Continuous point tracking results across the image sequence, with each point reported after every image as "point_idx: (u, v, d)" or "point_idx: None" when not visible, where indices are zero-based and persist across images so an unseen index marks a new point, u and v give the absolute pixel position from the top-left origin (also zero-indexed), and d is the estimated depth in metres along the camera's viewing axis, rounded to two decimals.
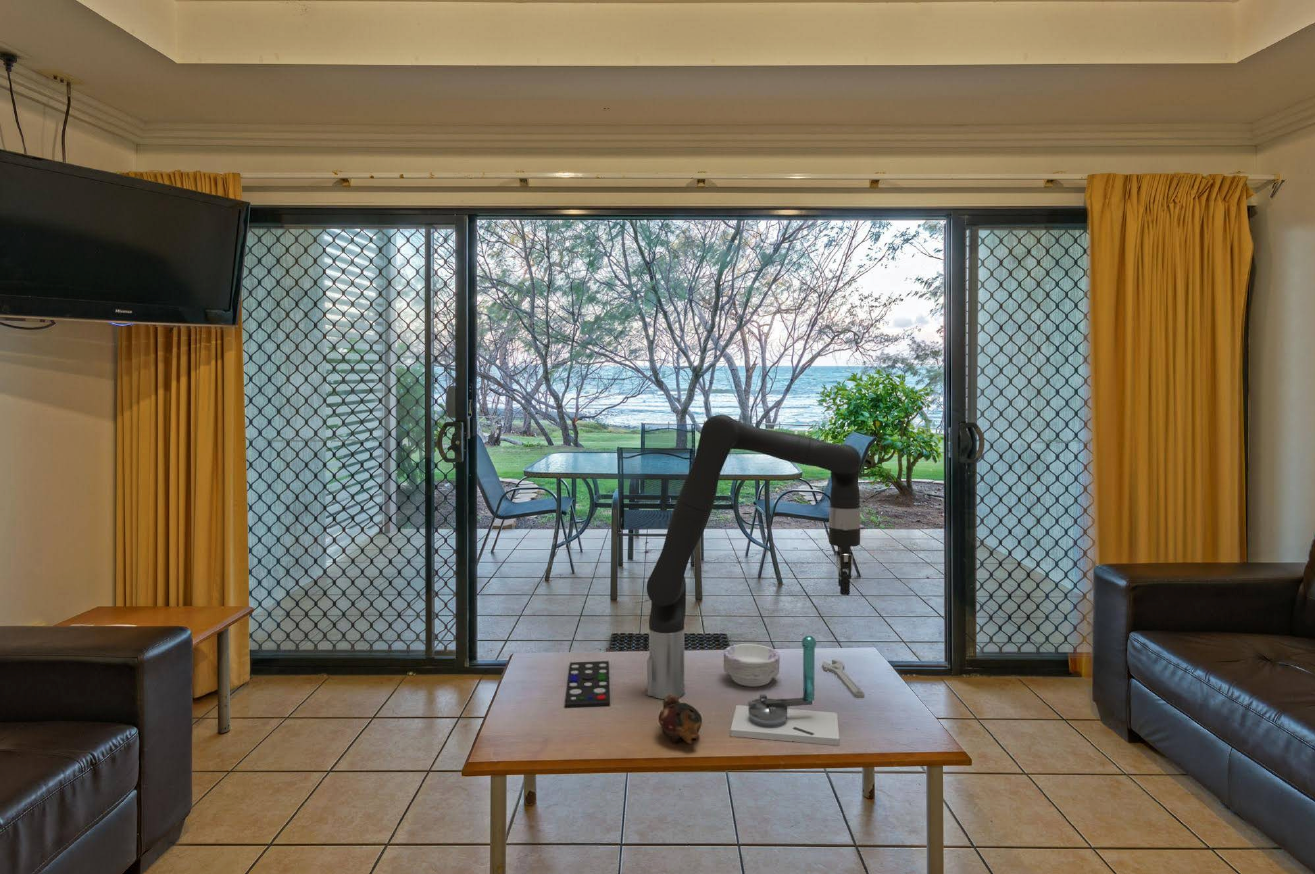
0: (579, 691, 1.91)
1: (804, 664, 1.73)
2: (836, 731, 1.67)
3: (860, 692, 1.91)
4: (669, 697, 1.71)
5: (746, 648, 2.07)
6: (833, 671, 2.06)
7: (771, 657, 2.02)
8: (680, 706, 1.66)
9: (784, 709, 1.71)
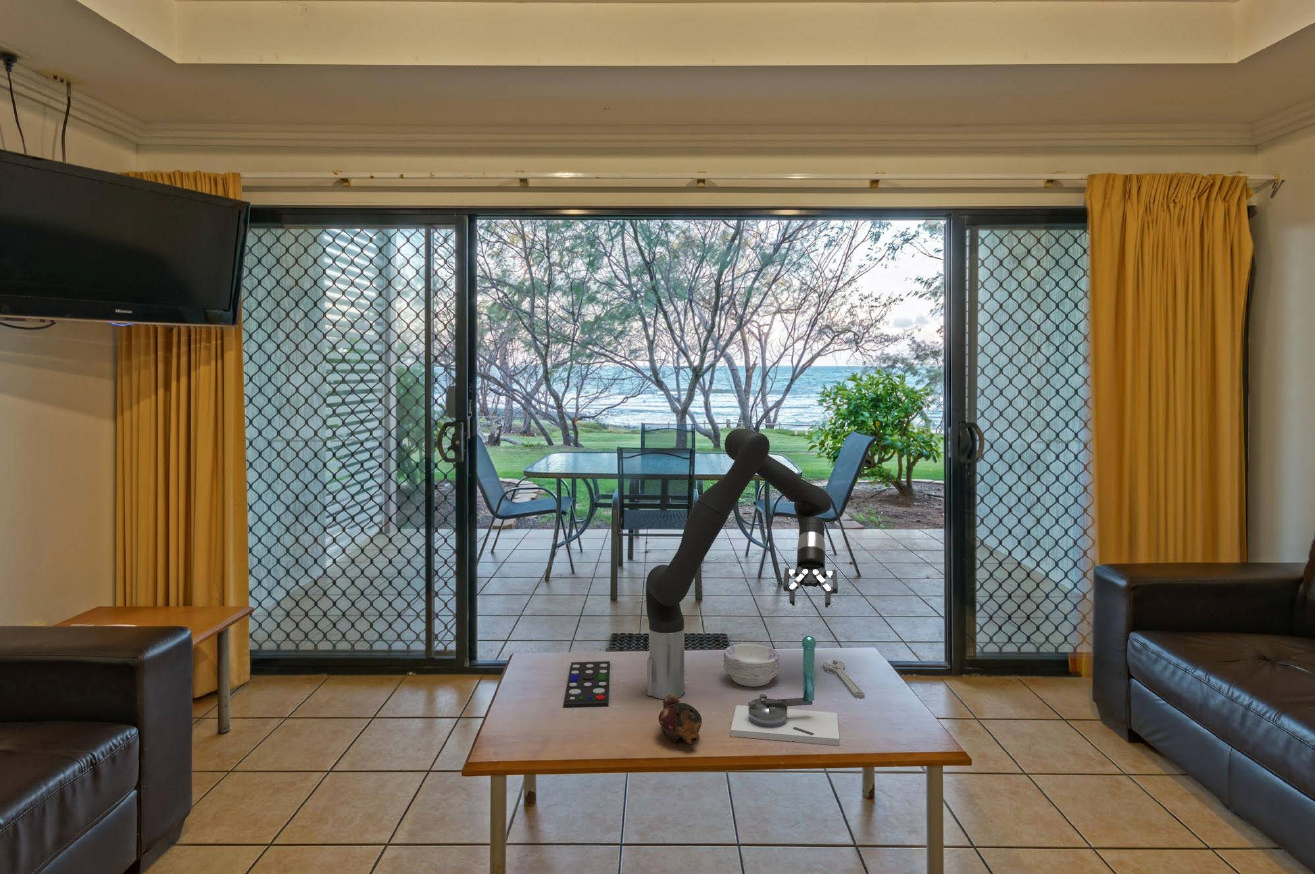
0: (578, 691, 1.91)
1: (804, 664, 1.73)
2: (836, 731, 1.67)
3: (860, 692, 1.91)
4: (669, 697, 1.71)
5: (746, 648, 2.07)
6: (834, 671, 2.06)
7: (771, 657, 2.02)
8: (680, 706, 1.66)
9: (784, 709, 1.71)
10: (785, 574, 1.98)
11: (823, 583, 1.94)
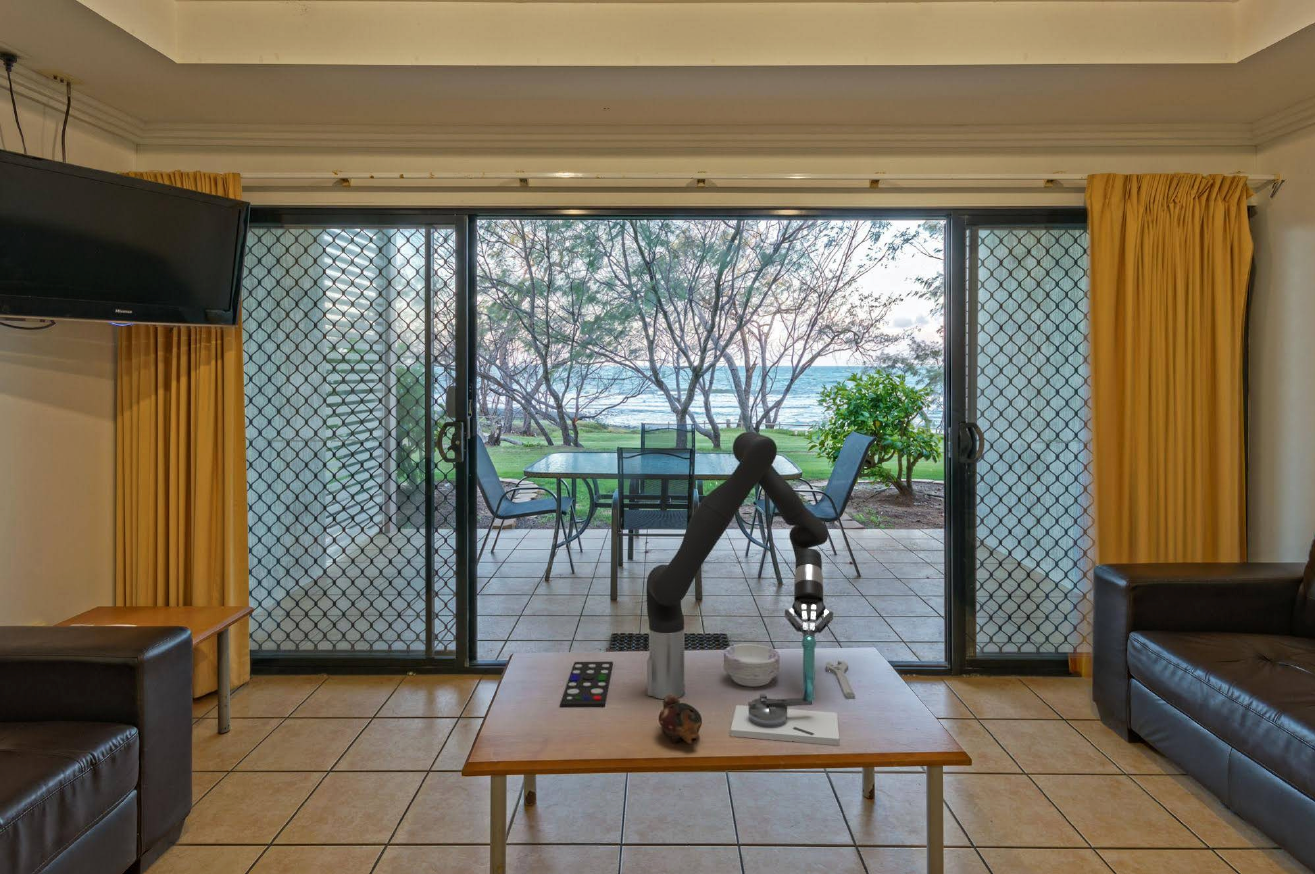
0: (576, 691, 1.92)
1: (804, 664, 1.73)
2: (836, 731, 1.67)
3: (851, 693, 1.90)
4: (669, 697, 1.71)
5: (746, 648, 2.07)
6: (834, 672, 2.06)
7: (771, 657, 2.02)
8: (680, 706, 1.66)
9: (784, 709, 1.71)
10: (790, 616, 1.90)
11: (811, 620, 1.88)
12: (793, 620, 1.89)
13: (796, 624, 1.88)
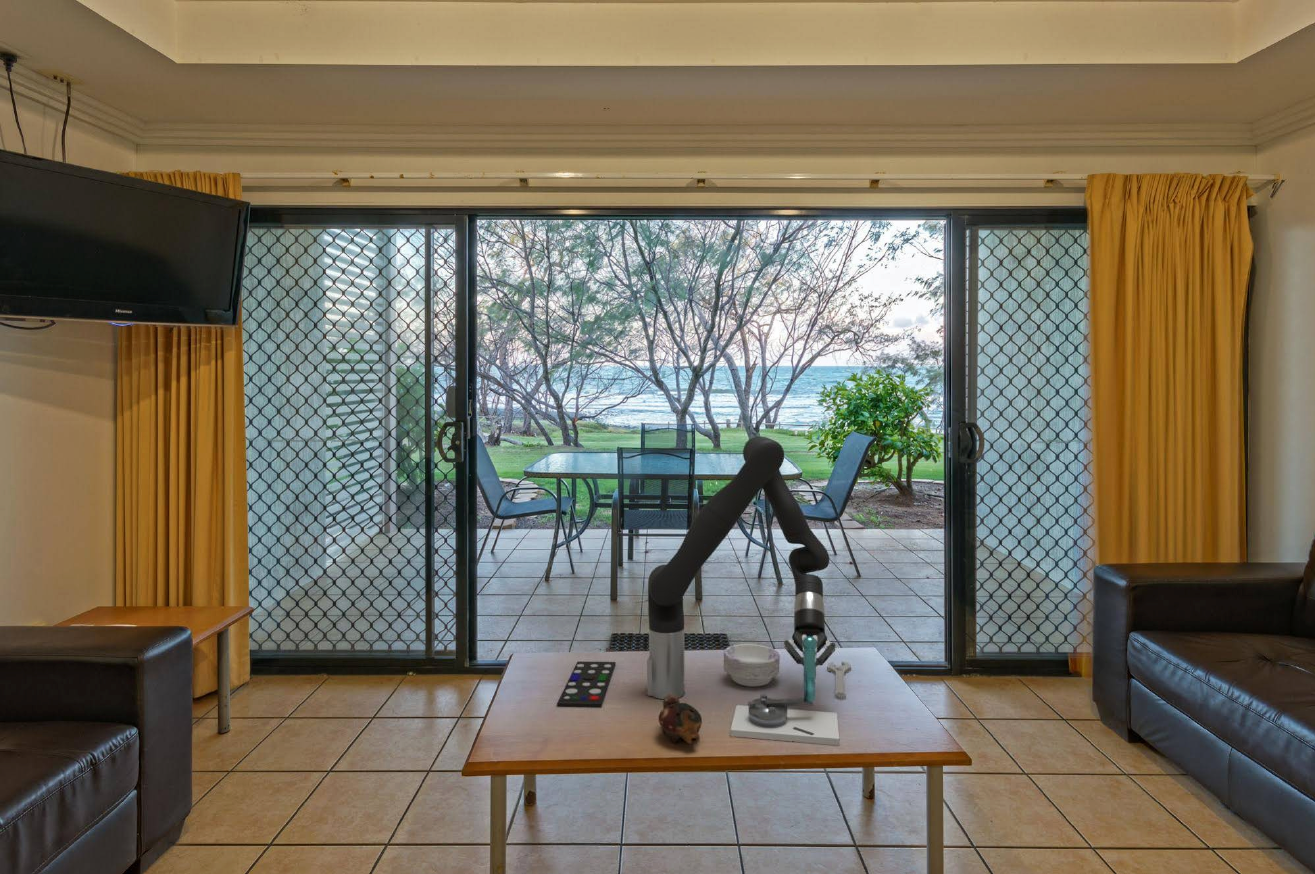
0: (575, 691, 1.92)
1: (805, 665, 1.73)
2: (836, 731, 1.67)
3: (843, 694, 1.90)
4: (669, 697, 1.71)
5: (746, 648, 2.07)
6: (834, 672, 2.06)
7: (771, 657, 2.02)
8: (680, 706, 1.66)
9: (784, 709, 1.70)
10: (789, 647, 1.80)
11: None
12: (793, 652, 1.79)
13: (796, 656, 1.78)
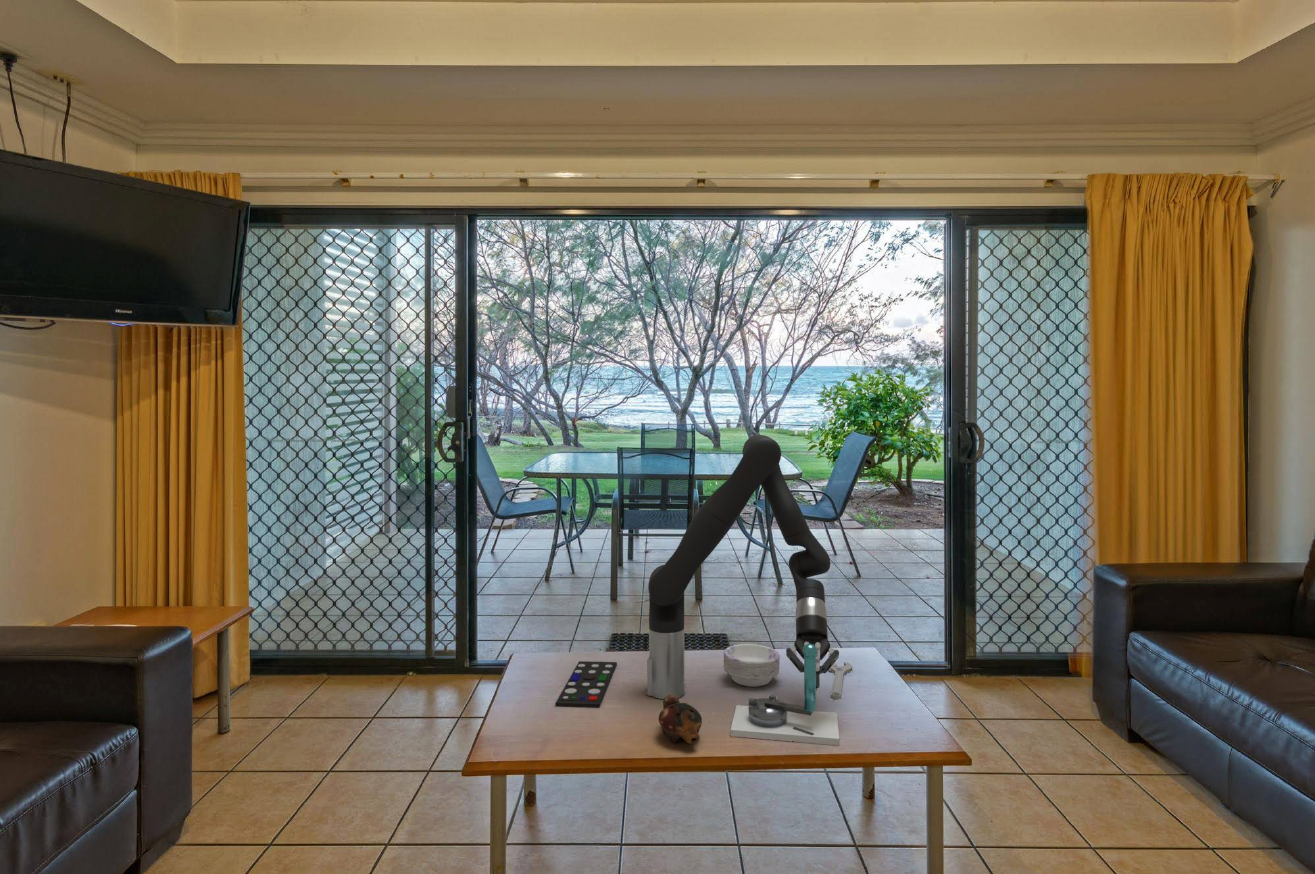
0: (574, 690, 1.92)
1: (804, 672, 1.68)
2: (836, 731, 1.67)
3: (838, 694, 1.90)
4: (669, 697, 1.71)
5: (746, 648, 2.07)
6: (834, 672, 2.05)
7: (771, 657, 2.02)
8: (680, 706, 1.66)
9: (777, 712, 1.69)
10: (792, 655, 1.75)
11: (816, 660, 1.73)
12: (796, 660, 1.74)
13: (799, 665, 1.73)
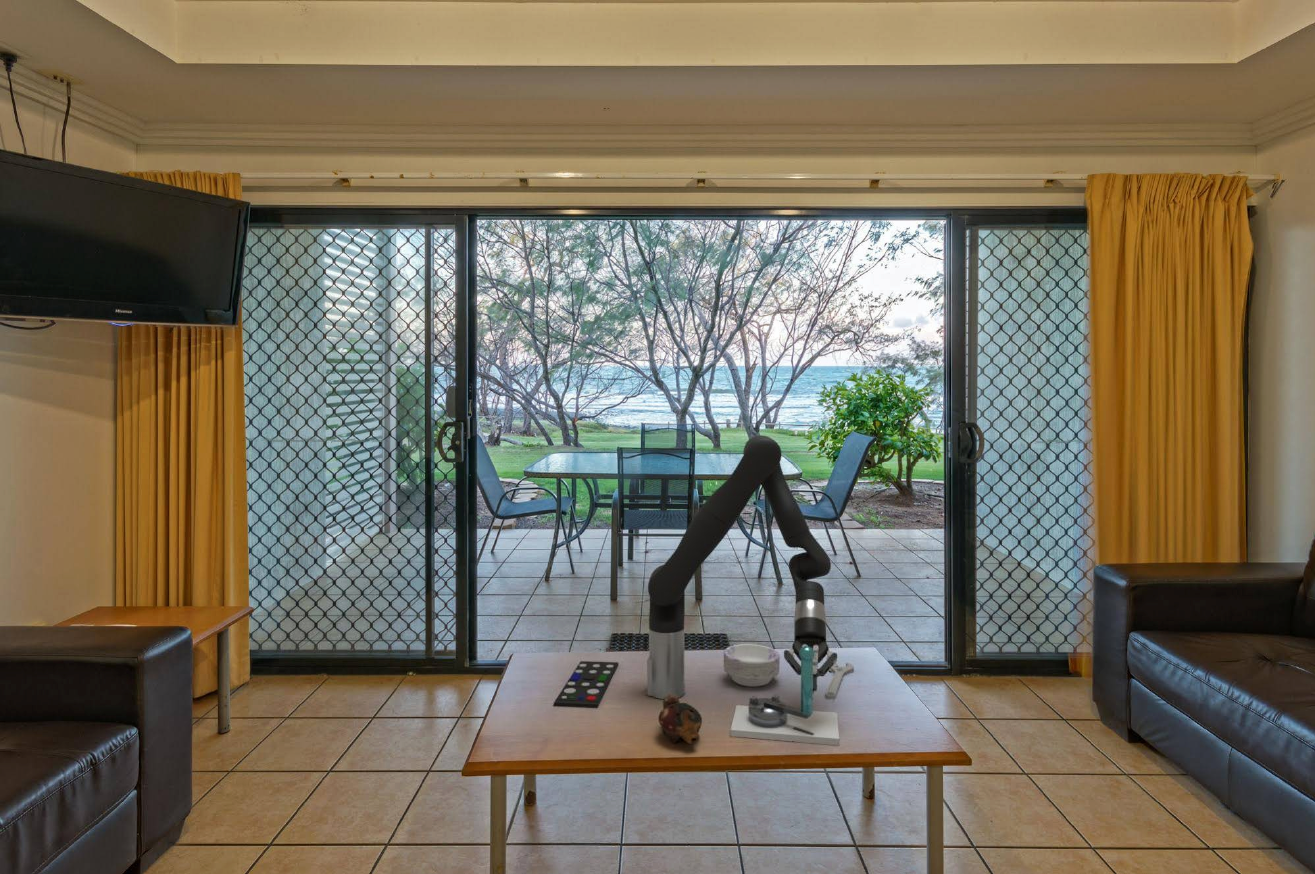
0: (573, 690, 1.92)
1: None
2: (836, 731, 1.67)
3: (833, 693, 1.90)
4: (669, 697, 1.71)
5: (746, 648, 2.07)
6: (834, 672, 2.05)
7: (771, 657, 2.02)
8: (680, 706, 1.66)
9: (774, 713, 1.69)
10: (789, 658, 1.73)
11: (813, 663, 1.71)
12: (793, 662, 1.72)
13: (796, 667, 1.71)
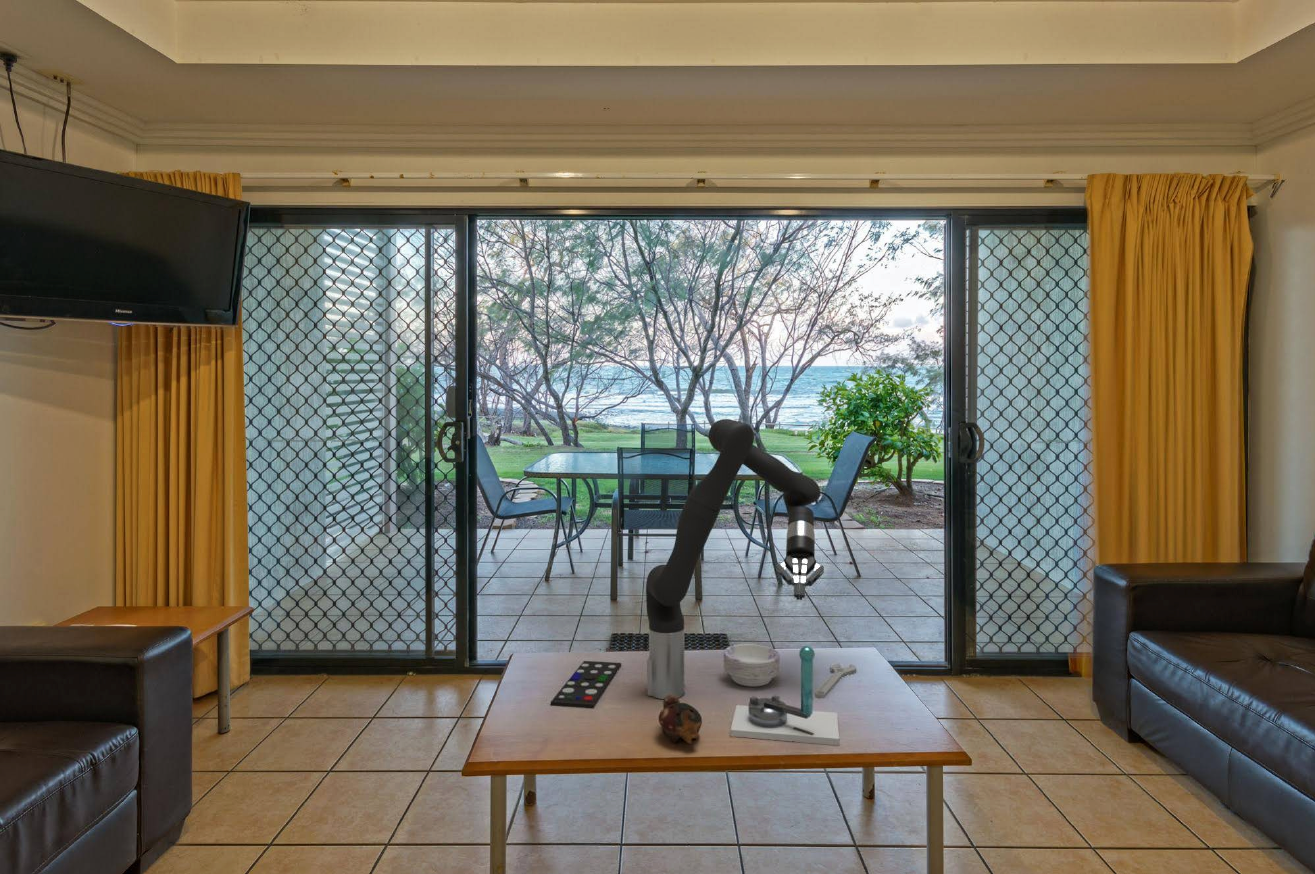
0: (571, 690, 1.92)
1: None
2: (836, 731, 1.67)
3: (823, 693, 1.91)
4: (669, 697, 1.71)
5: (746, 648, 2.07)
6: (834, 673, 2.05)
7: (771, 657, 2.02)
8: (680, 706, 1.66)
9: (774, 713, 1.69)
10: (781, 570, 1.94)
11: (802, 574, 1.92)
12: (784, 573, 1.93)
13: (787, 577, 1.92)
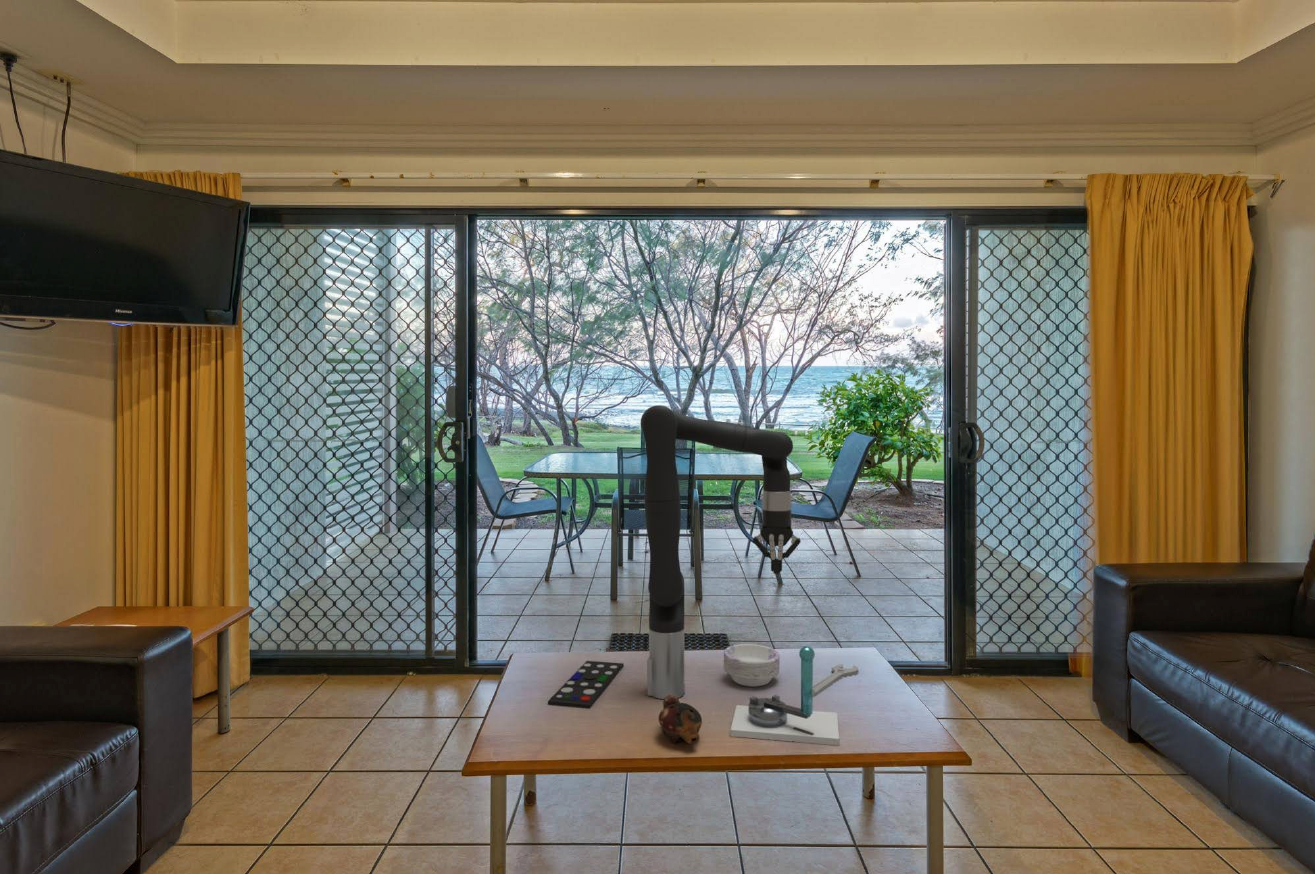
0: (570, 690, 1.92)
1: None
2: (836, 731, 1.67)
3: (814, 691, 1.92)
4: (669, 697, 1.71)
5: (746, 648, 2.07)
6: (834, 673, 2.05)
7: (771, 657, 2.02)
8: (680, 706, 1.66)
9: (774, 713, 1.69)
10: (758, 545, 1.93)
11: (779, 550, 1.92)
12: (761, 550, 1.93)
13: (764, 554, 1.93)
